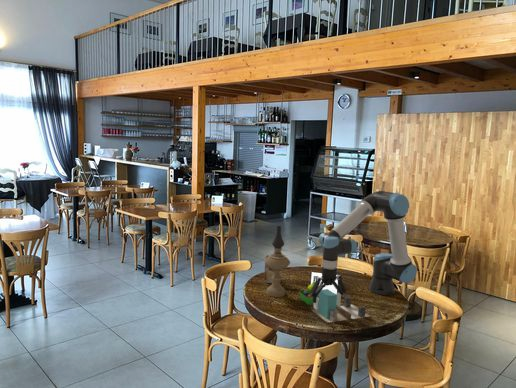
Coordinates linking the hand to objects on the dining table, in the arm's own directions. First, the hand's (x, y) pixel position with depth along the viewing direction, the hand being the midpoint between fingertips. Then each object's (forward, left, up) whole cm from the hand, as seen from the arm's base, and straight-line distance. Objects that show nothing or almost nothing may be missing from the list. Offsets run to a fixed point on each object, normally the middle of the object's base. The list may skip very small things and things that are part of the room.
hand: (327, 307), depth 210 cm
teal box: (0, 0, -4) cm, 4 cm away
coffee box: (+6, -55, -5) cm, 56 cm away
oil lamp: (+12, -36, -5) cm, 38 cm away
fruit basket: (-1, -19, -5) cm, 20 cm away
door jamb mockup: (-9, 0, -5) cm, 10 cm away
